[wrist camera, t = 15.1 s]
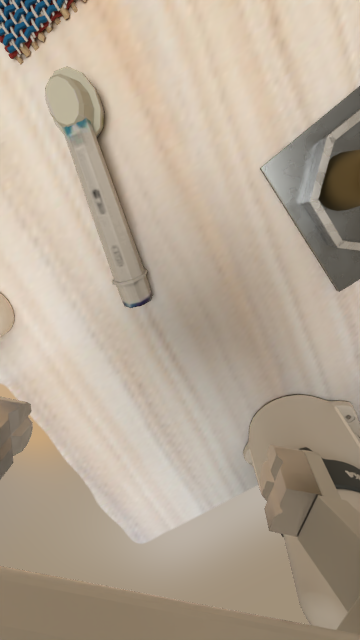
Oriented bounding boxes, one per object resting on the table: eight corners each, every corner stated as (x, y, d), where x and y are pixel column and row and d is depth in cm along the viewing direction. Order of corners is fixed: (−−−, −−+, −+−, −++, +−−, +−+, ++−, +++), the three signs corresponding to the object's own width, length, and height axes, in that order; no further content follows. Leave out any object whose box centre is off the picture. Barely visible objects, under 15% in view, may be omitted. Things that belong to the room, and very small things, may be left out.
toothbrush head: (116, 312, 36) (14, 65, 24) (127, 291, 42) (49, 84, 30) (155, 303, 35) (67, 43, 24) (161, 284, 41) (93, 67, 29)
